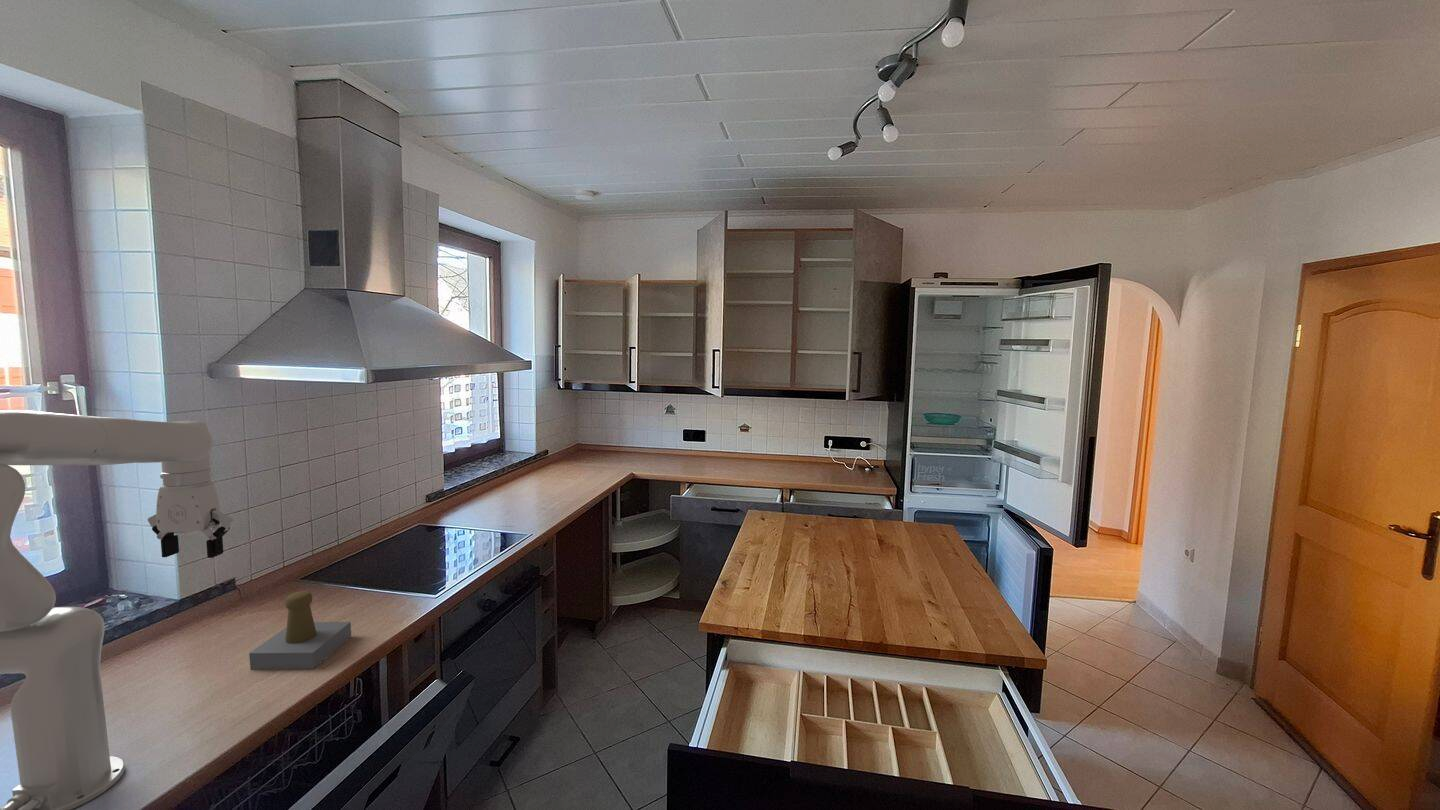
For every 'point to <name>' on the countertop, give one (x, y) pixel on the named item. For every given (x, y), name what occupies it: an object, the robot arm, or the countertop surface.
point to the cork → (299, 618)
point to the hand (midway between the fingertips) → (193, 555)
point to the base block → (300, 648)
